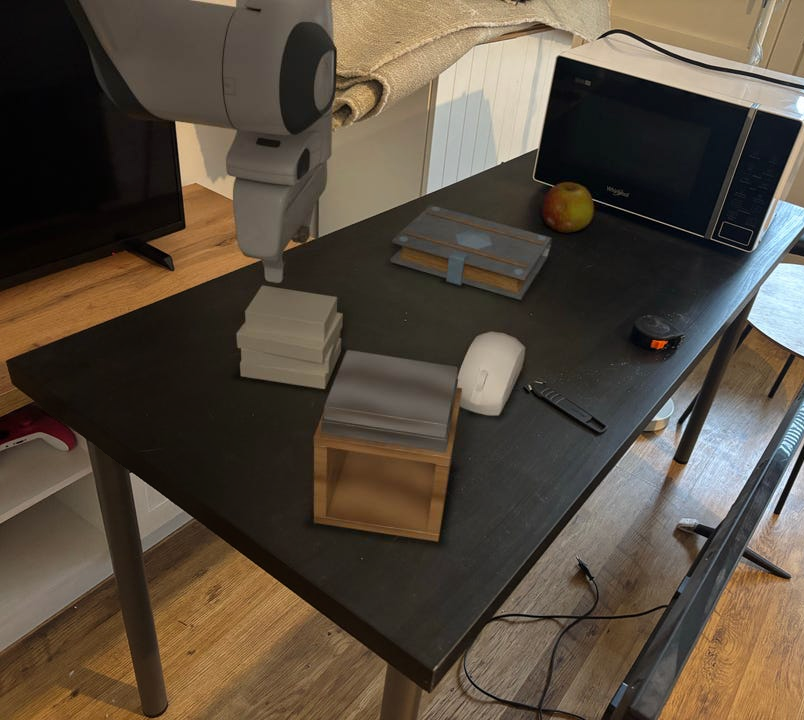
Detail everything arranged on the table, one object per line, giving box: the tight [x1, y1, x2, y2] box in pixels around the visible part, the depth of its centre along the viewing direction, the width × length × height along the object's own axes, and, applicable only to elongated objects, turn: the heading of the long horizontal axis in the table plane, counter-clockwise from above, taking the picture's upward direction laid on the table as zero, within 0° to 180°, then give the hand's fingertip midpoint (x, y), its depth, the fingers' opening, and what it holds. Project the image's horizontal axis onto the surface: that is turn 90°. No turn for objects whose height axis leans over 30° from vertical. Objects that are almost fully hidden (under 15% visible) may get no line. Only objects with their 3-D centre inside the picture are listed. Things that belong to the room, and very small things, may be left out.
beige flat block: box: [244, 285, 338, 342], centre depth 85 cm, size 6×9×2 cm, turn 85°
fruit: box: [541, 181, 595, 234], centre depth 129 cm, size 10×9×8 cm
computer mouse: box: [456, 330, 526, 416], centre depth 90 cm, size 6×13×6 cm, turn 163°
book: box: [389, 204, 552, 301], centre depth 115 cm, size 21×16×5 cm
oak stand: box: [313, 349, 462, 543], centre depth 70 cm, size 10×12×14 cm
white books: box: [235, 312, 344, 390], centre depth 88 cm, size 9×10×6 cm
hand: (288, 258), depth 81 cm, fingers open, 8 cm apart
